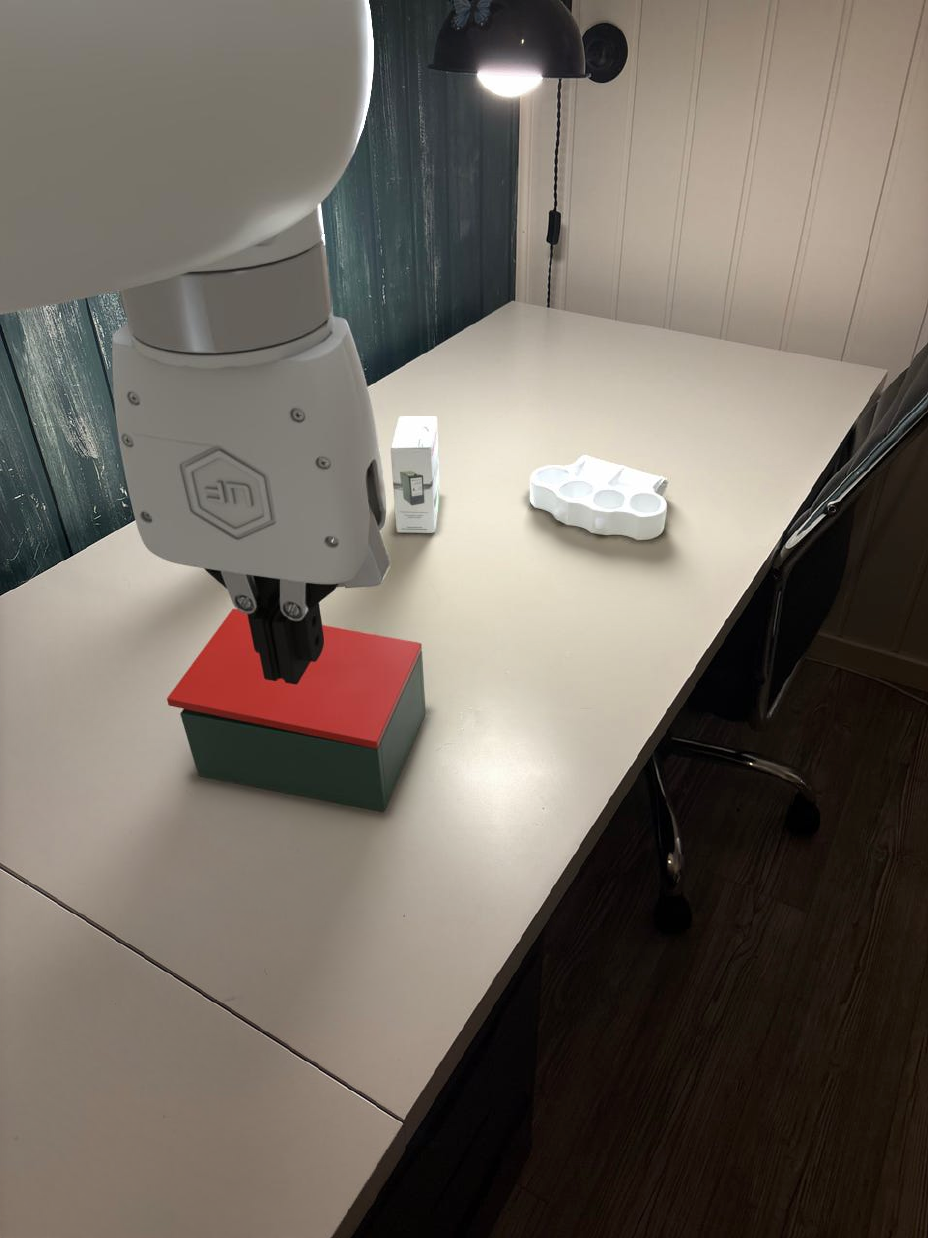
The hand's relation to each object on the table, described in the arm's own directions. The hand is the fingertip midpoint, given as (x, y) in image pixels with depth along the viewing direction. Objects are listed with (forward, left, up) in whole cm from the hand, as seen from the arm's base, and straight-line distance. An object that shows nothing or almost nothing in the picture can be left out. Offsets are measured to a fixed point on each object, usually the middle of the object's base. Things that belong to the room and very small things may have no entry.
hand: (292, 663), depth 45 cm
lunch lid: (+23, +12, -24) cm, 35 cm away
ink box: (+63, +14, -32) cm, 72 cm away
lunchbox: (+23, +12, -32) cm, 41 cm away
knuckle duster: (+70, -8, -32) cm, 77 cm away
